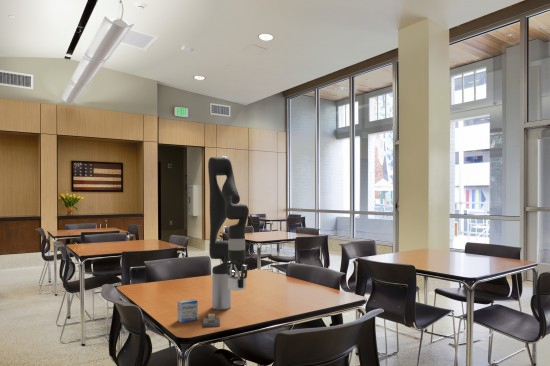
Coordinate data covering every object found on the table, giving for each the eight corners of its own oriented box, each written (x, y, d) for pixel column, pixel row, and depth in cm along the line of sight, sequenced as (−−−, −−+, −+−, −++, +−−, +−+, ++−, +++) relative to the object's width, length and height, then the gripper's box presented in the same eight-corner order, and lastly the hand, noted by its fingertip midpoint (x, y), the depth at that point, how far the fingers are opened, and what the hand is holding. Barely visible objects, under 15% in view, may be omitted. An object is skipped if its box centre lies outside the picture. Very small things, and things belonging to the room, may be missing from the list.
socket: (228, 288, 173) (228, 277, 173) (238, 286, 177) (238, 275, 177) (235, 291, 169) (235, 279, 169) (245, 289, 172) (245, 277, 173)
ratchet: (203, 316, 179) (203, 307, 179) (219, 315, 180) (219, 307, 180) (203, 327, 164) (203, 317, 164) (219, 326, 165) (219, 316, 166)
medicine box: (181, 323, 170) (181, 303, 170) (177, 320, 173) (177, 301, 174) (197, 320, 174) (197, 300, 175) (193, 317, 178) (193, 298, 178)
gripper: (253, 249, 170) (253, 288, 170) (234, 246, 182) (234, 283, 181) (239, 250, 166) (239, 291, 165) (221, 247, 177) (221, 285, 176)
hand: (236, 286), depth 173 cm, fingers closed on socket, 5 cm apart
